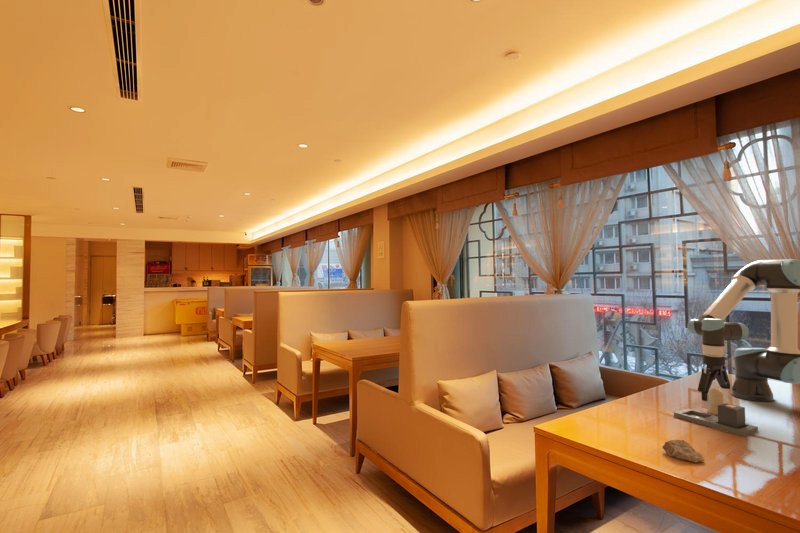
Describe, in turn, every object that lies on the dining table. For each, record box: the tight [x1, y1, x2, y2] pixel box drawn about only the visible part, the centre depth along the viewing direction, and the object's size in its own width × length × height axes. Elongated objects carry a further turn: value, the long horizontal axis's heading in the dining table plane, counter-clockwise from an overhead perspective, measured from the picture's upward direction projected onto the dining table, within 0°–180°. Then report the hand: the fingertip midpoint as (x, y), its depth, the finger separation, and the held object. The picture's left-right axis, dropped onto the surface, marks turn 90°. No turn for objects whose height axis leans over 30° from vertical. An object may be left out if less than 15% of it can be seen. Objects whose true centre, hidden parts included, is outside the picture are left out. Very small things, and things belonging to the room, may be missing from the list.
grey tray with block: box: [673, 402, 759, 437], centre depth 158 cm, size 10×24×9 cm, turn 27°
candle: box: [706, 388, 724, 416], centre depth 170 cm, size 6×6×10 cm
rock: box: [661, 439, 705, 463], centre depth 130 cm, size 9×6×10 cm
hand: (714, 406), depth 170 cm, fingers open, 13 cm apart
